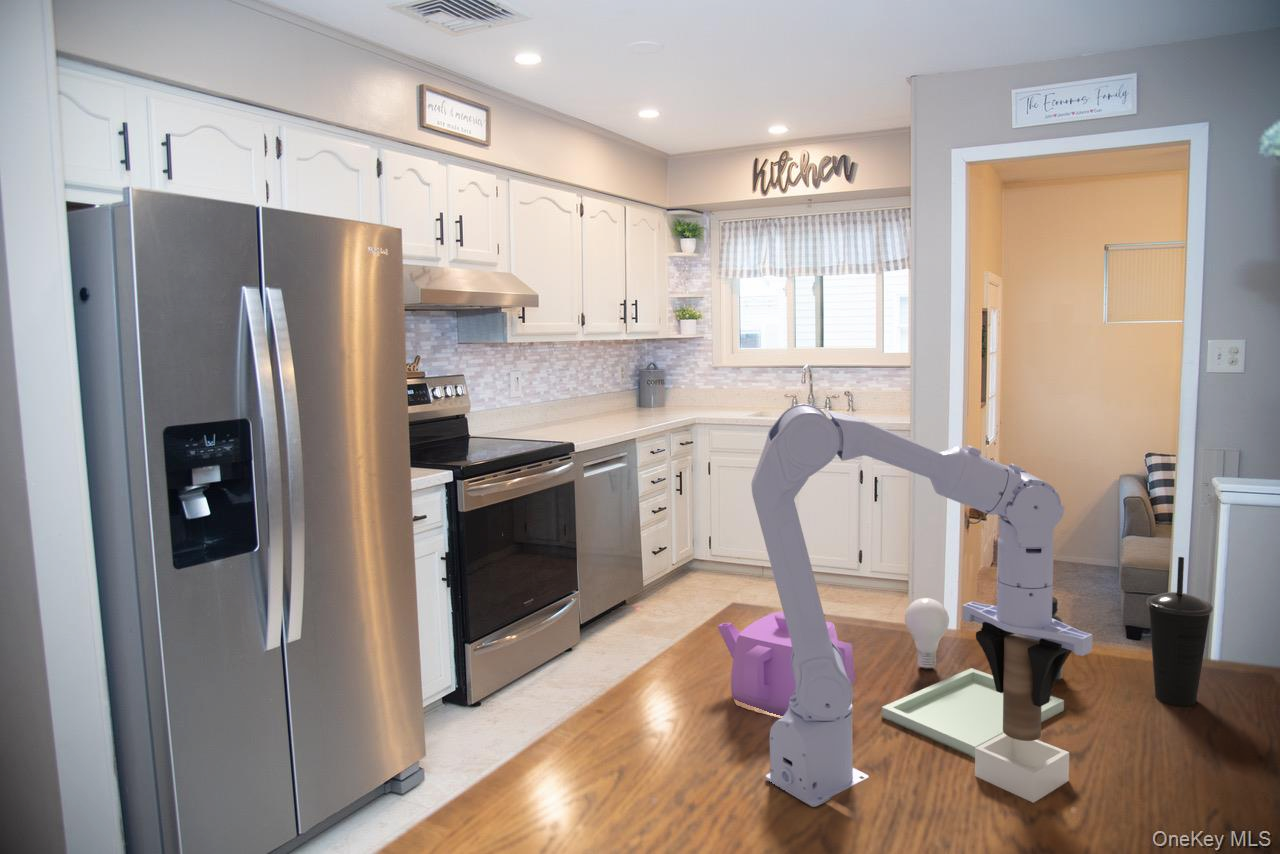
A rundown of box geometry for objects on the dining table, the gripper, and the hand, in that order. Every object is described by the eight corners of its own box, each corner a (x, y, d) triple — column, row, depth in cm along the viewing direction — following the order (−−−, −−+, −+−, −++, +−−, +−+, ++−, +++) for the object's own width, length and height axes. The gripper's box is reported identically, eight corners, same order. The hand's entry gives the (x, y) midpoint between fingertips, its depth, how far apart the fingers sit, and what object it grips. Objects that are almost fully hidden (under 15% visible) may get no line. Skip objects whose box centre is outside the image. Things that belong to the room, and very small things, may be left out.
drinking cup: (1189, 686, 123) (1195, 549, 121) (1220, 711, 116) (1227, 565, 113) (1133, 686, 124) (1138, 550, 121) (1159, 710, 116) (1165, 565, 114)
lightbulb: (895, 665, 134) (896, 596, 133) (927, 657, 137) (927, 589, 136) (925, 680, 129) (925, 608, 127) (957, 671, 131) (958, 601, 130)
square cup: (1033, 807, 95) (1034, 773, 95) (974, 780, 101) (975, 747, 100) (1068, 785, 99) (1069, 752, 99) (1010, 760, 105) (1010, 729, 104)
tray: (974, 762, 105) (975, 746, 105) (881, 721, 116) (881, 706, 116) (1063, 714, 116) (1064, 700, 116) (971, 681, 128) (971, 668, 127)
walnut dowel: (1028, 744, 97) (1030, 649, 95) (995, 731, 100) (996, 639, 98) (1047, 733, 99) (1050, 640, 97) (1015, 721, 102) (1016, 631, 101)
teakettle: (746, 731, 115) (745, 641, 114) (716, 679, 132) (714, 601, 130) (868, 717, 118) (867, 630, 116) (823, 668, 134) (822, 591, 133)
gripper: (1108, 588, 93) (1104, 708, 95) (987, 560, 105) (985, 667, 107) (1073, 602, 89) (1070, 727, 91) (951, 572, 101) (950, 683, 103)
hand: (1022, 696), depth 99 cm, fingers closed on walnut dowel, 4 cm apart
